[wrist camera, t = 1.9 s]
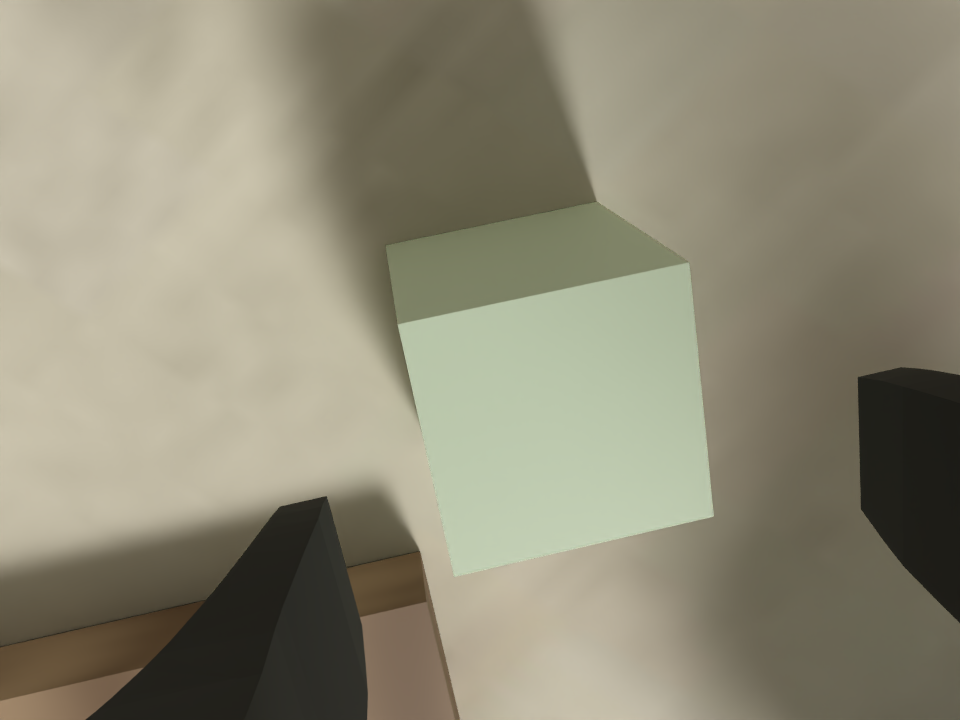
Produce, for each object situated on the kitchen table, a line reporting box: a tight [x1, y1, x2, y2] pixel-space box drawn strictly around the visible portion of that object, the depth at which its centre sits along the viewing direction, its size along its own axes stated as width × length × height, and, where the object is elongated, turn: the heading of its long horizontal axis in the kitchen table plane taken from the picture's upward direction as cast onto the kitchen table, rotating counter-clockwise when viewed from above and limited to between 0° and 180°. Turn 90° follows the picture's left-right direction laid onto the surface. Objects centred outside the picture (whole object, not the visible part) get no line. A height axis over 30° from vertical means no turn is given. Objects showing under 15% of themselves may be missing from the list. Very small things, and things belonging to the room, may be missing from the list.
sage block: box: [385, 202, 714, 577], centre depth 17 cm, size 4×4×6 cm
